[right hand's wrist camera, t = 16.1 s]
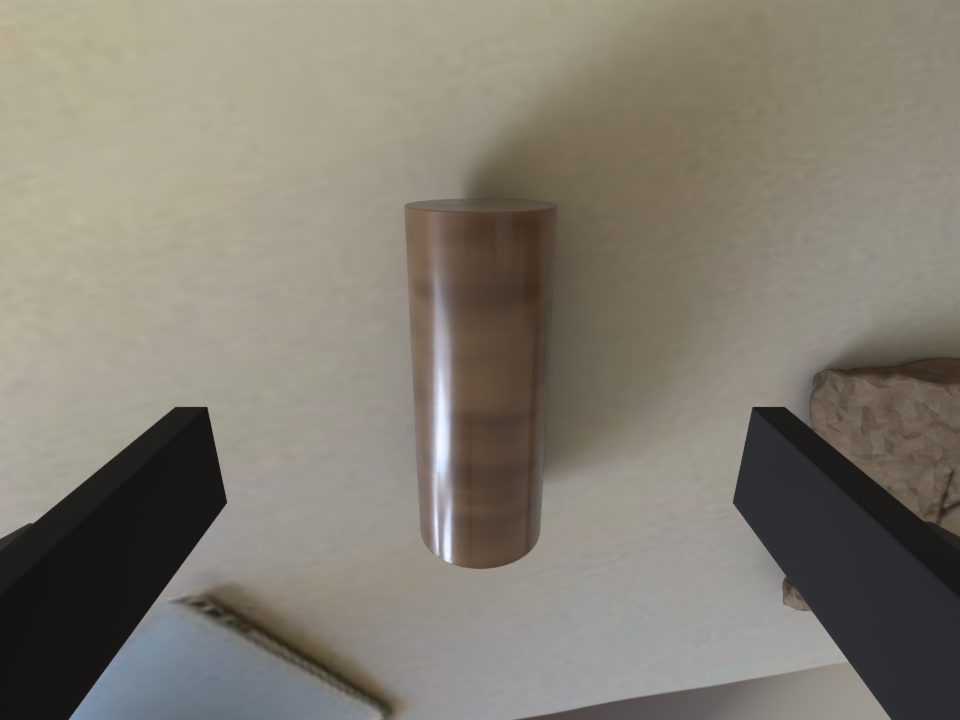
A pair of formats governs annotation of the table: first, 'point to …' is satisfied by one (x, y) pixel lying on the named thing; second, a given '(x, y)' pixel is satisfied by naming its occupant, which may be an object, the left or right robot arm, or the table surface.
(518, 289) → the rod
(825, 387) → the stone
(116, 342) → the table surface
